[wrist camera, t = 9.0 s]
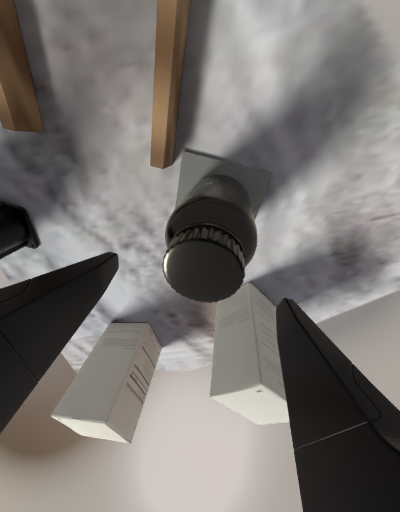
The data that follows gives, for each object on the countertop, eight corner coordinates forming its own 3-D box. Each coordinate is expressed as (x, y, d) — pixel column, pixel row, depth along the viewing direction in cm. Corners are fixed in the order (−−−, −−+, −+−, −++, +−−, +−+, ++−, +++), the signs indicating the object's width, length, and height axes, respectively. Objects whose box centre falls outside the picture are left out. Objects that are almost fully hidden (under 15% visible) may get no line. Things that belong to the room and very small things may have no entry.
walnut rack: (172, 164, 19) (163, 169, 16) (33, 129, 19) (3, 127, 16) (199, -89, 11) (190, -158, 8) (-41, -149, 11) (-122, -234, 8)
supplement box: (126, 346, 41) (81, 436, 29) (109, 321, 36) (46, 415, 24) (163, 348, 39) (131, 446, 27) (150, 322, 35) (104, 425, 22)
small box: (216, 299, 28) (207, 397, 18) (249, 280, 25) (262, 384, 15) (248, 326, 31) (257, 426, 20) (282, 311, 28) (313, 421, 17)
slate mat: (241, 248, 23) (241, 249, 23) (172, 230, 23) (172, 231, 23) (271, 173, 18) (272, 174, 17) (183, 150, 18) (183, 151, 18)
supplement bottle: (202, 161, 18) (164, 189, 8) (262, 191, 18) (297, 252, 9) (179, 219, 22) (134, 289, 12) (230, 243, 22) (228, 327, 12)
